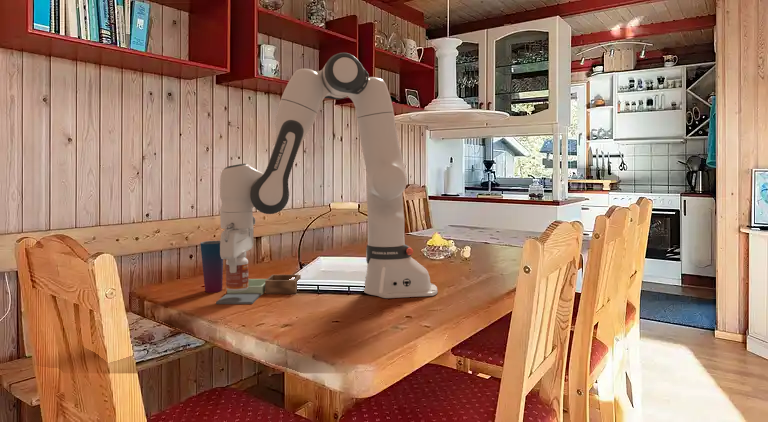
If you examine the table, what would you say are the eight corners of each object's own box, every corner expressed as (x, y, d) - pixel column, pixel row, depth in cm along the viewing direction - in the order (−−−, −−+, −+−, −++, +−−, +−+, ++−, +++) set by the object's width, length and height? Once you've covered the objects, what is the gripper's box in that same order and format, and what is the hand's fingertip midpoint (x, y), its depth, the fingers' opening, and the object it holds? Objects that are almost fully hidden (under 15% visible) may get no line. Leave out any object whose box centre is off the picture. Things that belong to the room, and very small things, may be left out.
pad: (260, 295, 158) (260, 293, 158) (252, 304, 148) (252, 301, 148) (227, 295, 158) (227, 293, 158) (216, 304, 148) (216, 301, 148)
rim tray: (270, 286, 169) (270, 278, 169) (262, 294, 158) (262, 286, 158) (237, 286, 169) (237, 279, 169) (227, 294, 158) (226, 286, 158)
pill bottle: (246, 291, 150) (246, 252, 149) (224, 291, 149) (223, 252, 148) (250, 286, 156) (249, 248, 155) (228, 286, 155) (228, 248, 154)
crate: (300, 287, 168) (300, 274, 168) (295, 294, 159) (295, 280, 159) (272, 287, 168) (271, 274, 168) (265, 294, 159) (265, 280, 159)
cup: (218, 293, 160) (216, 244, 158) (197, 292, 161) (195, 243, 160) (229, 288, 166) (227, 240, 165) (209, 287, 168) (207, 240, 166)
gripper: (237, 225, 140) (238, 277, 142) (256, 218, 161) (257, 263, 162) (213, 225, 140) (214, 277, 142) (235, 218, 161) (236, 263, 162)
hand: (237, 269), depth 152 cm, fingers closed on pill bottle, 6 cm apart
